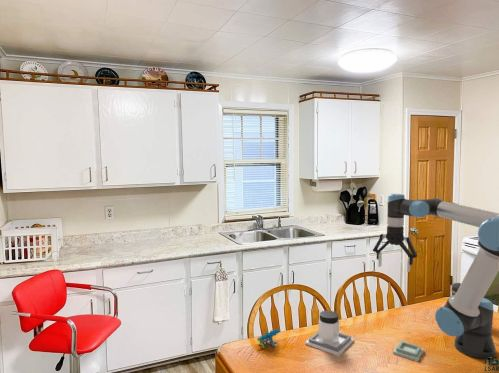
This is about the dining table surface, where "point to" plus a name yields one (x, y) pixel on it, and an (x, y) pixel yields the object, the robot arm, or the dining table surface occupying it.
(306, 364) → the dining table surface
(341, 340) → the grey picture frame
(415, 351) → the small collar
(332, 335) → the jar
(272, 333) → the blue green toy
